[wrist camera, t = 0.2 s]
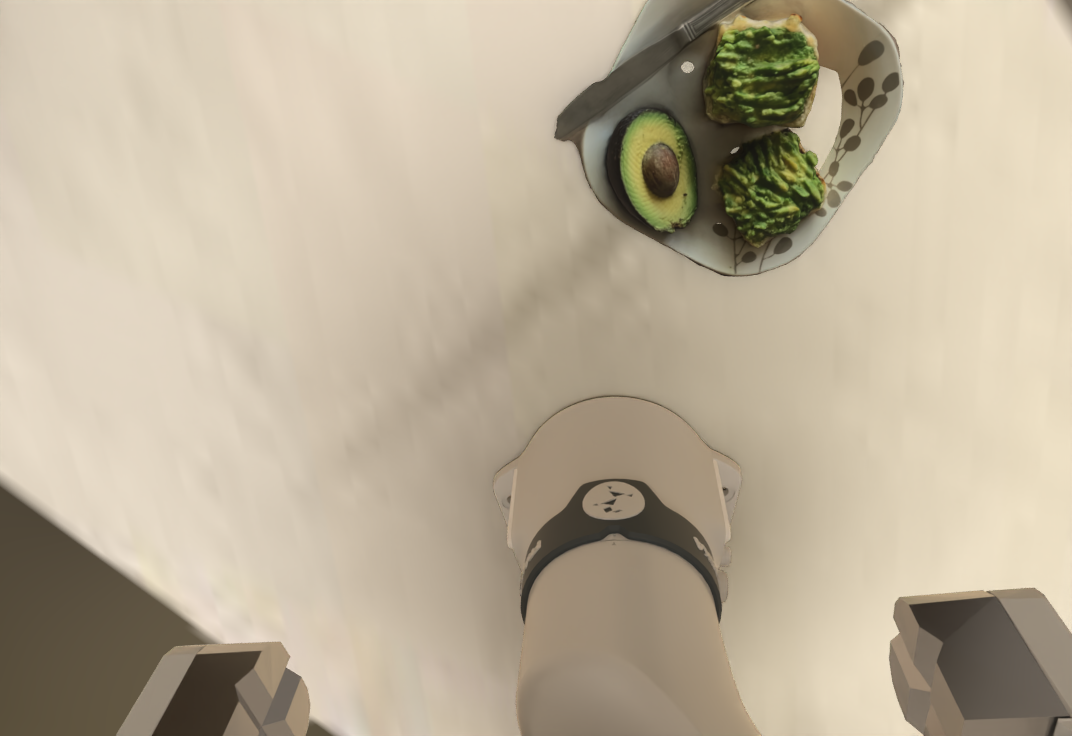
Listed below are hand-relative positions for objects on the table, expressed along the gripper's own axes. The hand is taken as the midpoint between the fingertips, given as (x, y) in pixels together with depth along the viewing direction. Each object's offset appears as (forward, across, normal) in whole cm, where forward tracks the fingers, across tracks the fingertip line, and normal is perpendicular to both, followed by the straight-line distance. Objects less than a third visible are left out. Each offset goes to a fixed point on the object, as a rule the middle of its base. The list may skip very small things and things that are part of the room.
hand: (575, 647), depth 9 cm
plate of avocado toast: (+39, +8, -3) cm, 40 cm away
